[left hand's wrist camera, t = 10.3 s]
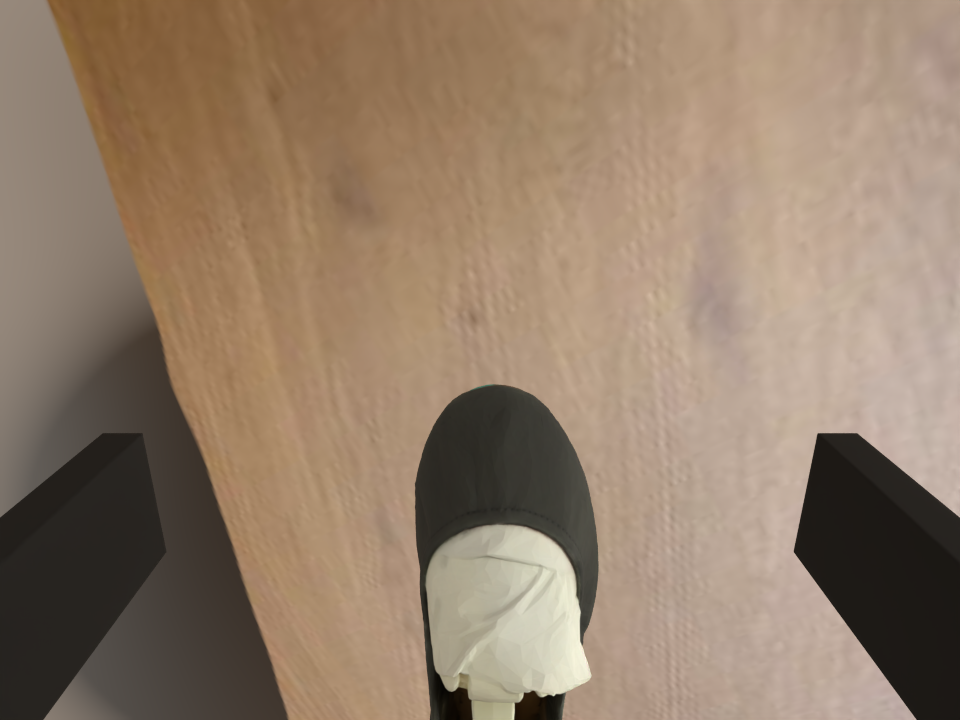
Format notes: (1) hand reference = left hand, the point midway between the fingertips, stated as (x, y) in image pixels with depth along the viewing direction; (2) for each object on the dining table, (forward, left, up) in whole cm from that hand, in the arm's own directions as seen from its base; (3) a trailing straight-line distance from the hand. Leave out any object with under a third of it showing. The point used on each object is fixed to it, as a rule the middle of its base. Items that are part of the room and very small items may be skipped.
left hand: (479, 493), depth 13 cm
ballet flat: (+15, +2, -15) cm, 22 cm away
